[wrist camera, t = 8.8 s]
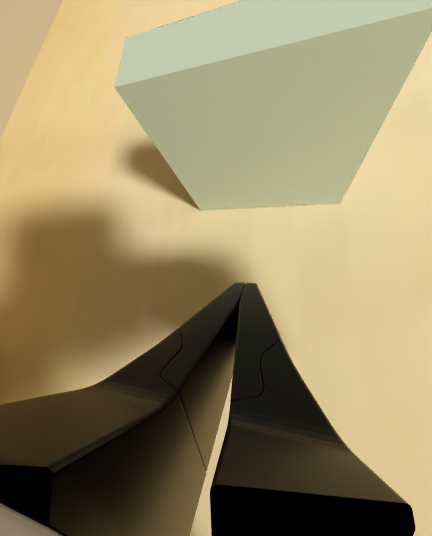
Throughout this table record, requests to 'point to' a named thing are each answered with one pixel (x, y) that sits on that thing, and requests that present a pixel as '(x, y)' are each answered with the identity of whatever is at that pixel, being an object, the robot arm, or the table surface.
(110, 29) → the table surface
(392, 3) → the bookend
